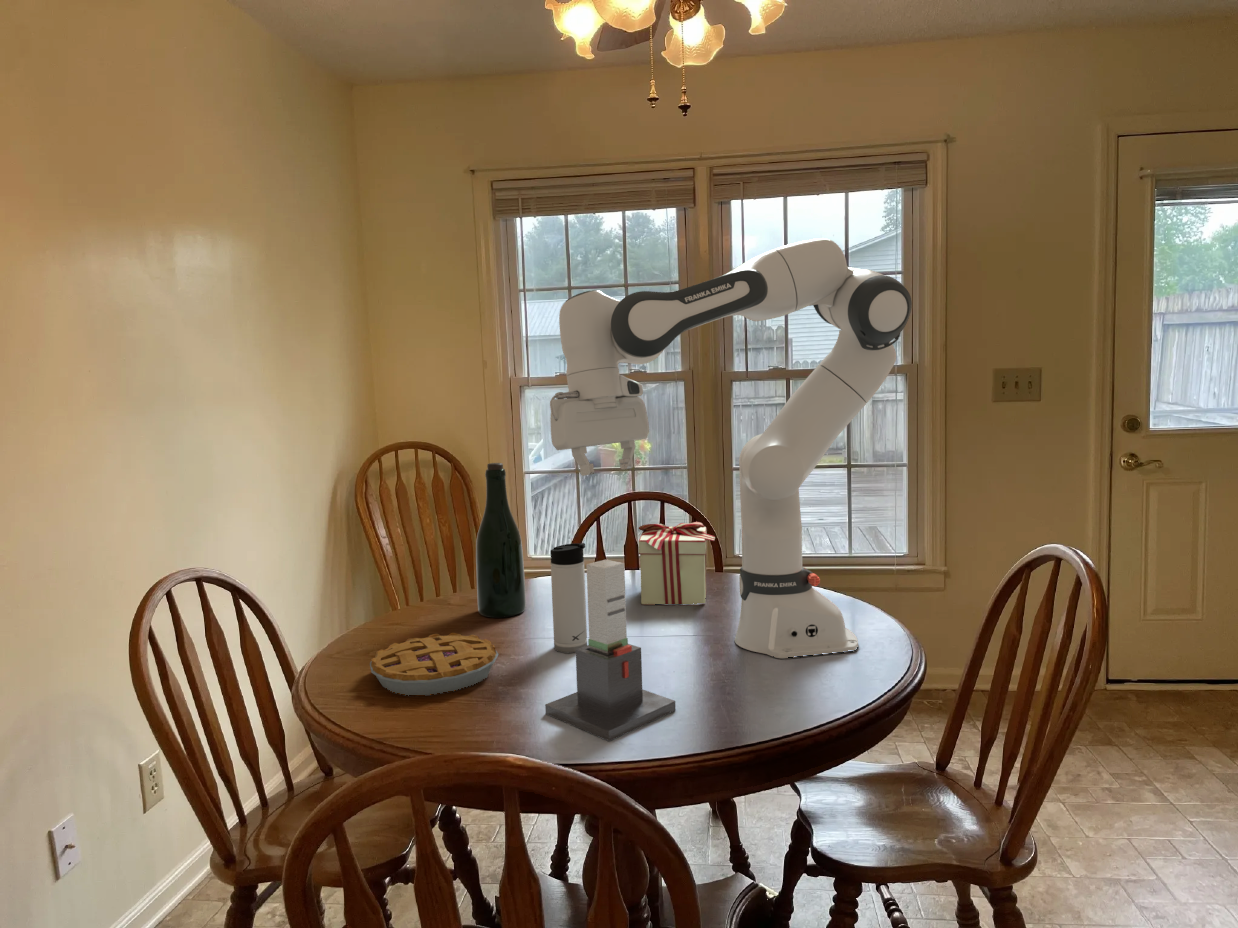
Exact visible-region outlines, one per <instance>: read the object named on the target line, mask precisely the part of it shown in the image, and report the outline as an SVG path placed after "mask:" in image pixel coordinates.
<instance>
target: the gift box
mask: <svg viewBox="0 0 1238 928" xmlns="http://www.w3.org/2000/svg"><path fill="white" fill-rule="evenodd" d="M638 530H639V531H642V533H641V534H640V536H639V540H638V555H639V559H640V560H639V561H640V562H639V563H640V564H639V565H640V567H639V569H640V597H641V598H640V599H641V600H640V604H641V605H642V606H643V605H644V606H656V605H655V604H693V603H694V604H697V603H705V604H706V599H705V598H707V541H710V542H715V539H716V536H715V535H711V534H709V533H707V531H708V529H707V527H706V526H705V525H704V524H703V523H702V522H700V521H694V522H690V523H685V522H681V523H678V524H677V525H675V526H667V525H665V524H662V523H648V524H642V525H640V526H638Z"/></svg>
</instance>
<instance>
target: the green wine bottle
mask: <svg viewBox="0 0 1238 928" xmlns="http://www.w3.org/2000/svg"><path fill="white" fill-rule="evenodd" d="M486 466H487V467H486V470H485V473H484V476H485V485H486V487H485V493H486V495H485V496H486V497H485V507H484V511H483V516H482V519H481V521H480V525H479V528H478V532H477V533H476V535H477V536H476V541H475V564H476V569H475V570H476V571H475V572H476V590H477V591H476V592H477V594H476V595H477V596H476V597H477V610H478V613H479V614H480V615H481V616H483V617H487V618H498V619H500V618H508V617H515V616H517V615H520V614H522V613H523V612H524V611H526V608H527V599H526V597H527V594H526V583H525V582H526V581H525V579H526V578H525V567H524V565H525V564H524V551H523V543H522V535H521V533H520V529H519V527H518V524H517V523H516V521H515V518H514V516H513V512H511V511H512V510H511V509H510V503H509V498H508V491H507V481H506V477H507V471H506V469H505V468H504V463H503V462H491V463H487V465H486Z"/></svg>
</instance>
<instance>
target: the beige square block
mask: <svg viewBox="0 0 1238 928" xmlns="http://www.w3.org/2000/svg"><path fill="white" fill-rule="evenodd" d="M585 567H586V587H587V590H586V591H587V614H588V615H587V617H588V618H587V620H588V639H587V645H589V646H590V651H592V652H595V653H598V654H601V655H604V656H607V657H608V656H611V655H614V653H613V650H615V649H617V648H620V647H623V646H626V645H628V644H629V640H628V639H629V638H628V635H627V610H626V609H627V607H626V604H627V603H626V577H625V576H626V575H625V574H626V573H625V562H620V561H615V560H611V559H603V560H597V561H595V562H594V561H593V562H590V563H586V565H585Z"/></svg>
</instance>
